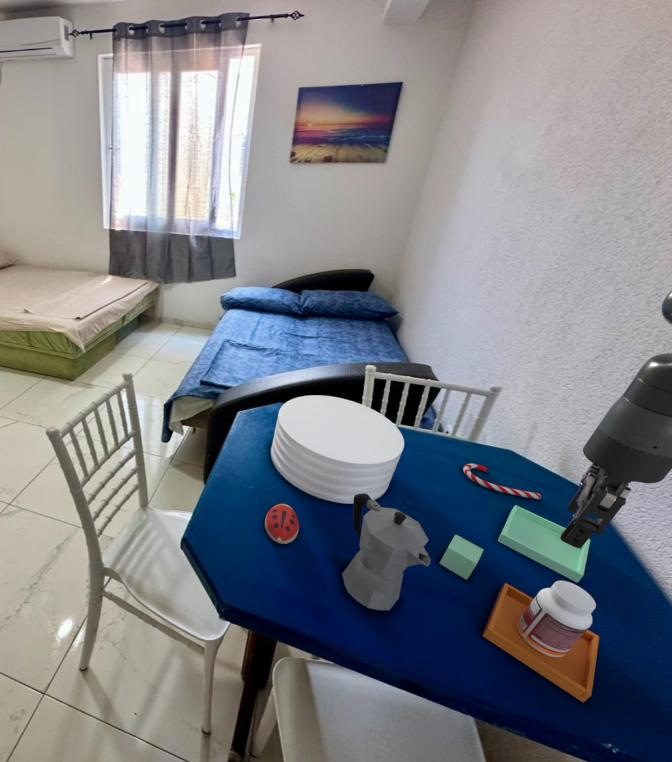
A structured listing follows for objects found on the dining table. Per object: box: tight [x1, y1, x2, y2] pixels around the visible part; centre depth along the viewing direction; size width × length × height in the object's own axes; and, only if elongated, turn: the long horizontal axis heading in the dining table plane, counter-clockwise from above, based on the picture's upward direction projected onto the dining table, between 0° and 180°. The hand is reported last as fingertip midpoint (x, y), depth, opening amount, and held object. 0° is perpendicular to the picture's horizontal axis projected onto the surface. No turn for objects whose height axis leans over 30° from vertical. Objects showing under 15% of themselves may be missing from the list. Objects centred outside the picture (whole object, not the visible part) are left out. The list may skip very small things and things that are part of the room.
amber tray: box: [482, 582, 600, 704], centre depth 65 cm, size 12×12×2 cm
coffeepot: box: [341, 493, 431, 611], centre depth 69 cm, size 15×9×18 cm, turn 16°
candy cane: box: [462, 463, 542, 500], centre depth 97 cm, size 8×1×15 cm
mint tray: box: [497, 504, 591, 584], centre depth 82 cm, size 12×12×2 cm
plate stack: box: [270, 394, 405, 505], centre depth 100 cm, size 28×28×12 cm
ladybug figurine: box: [264, 503, 300, 545], centre depth 83 cm, size 7×10×4 cm
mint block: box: [438, 533, 484, 581], centre depth 76 cm, size 5×5×5 cm
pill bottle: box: [517, 580, 597, 657], centre depth 62 cm, size 6×6×11 cm
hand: (572, 527), depth 59 cm, fingers open, 8 cm apart
